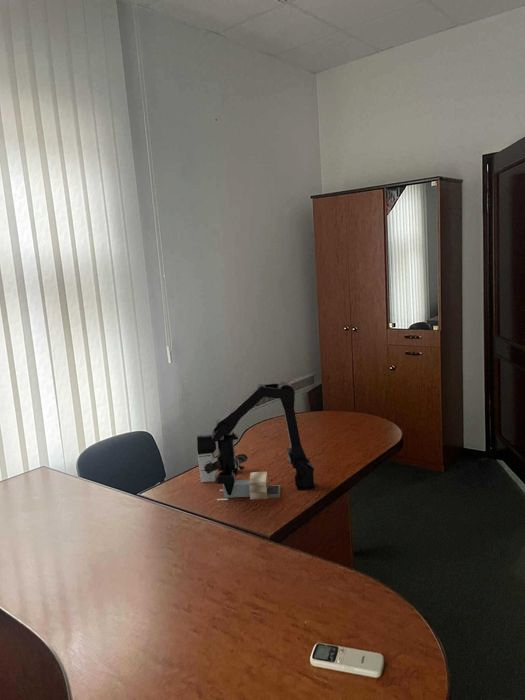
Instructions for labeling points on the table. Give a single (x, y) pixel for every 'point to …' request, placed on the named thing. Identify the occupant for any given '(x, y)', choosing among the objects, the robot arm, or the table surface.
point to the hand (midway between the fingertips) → (230, 492)
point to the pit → (273, 491)
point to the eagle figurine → (241, 459)
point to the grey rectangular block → (239, 489)
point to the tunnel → (258, 485)
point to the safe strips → (221, 499)
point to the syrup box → (203, 474)
